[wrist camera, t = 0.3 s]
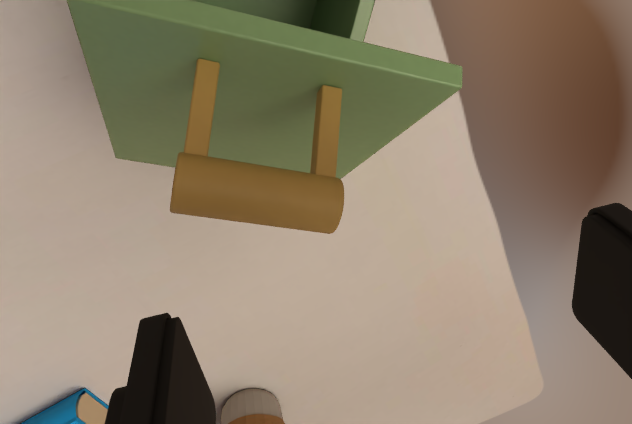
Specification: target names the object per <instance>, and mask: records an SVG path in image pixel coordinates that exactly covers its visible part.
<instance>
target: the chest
mask: <svg viewBox="0 0 632 424" xmlns="http://www.w3.org/2000/svg"><path fill="white" fill-rule="evenodd" d="M192 1H196V2H201V3H205V4H209V5H213V6H217V7H221V8H225V9H229V10H233V11H238V12H242V13H246V14H250V15H254V16H258V17H262V18H266V19H270V20H274V21H279V22H283V23H287V24H291V25H295V26H299V27H303V28H307V29H311V30H315V31H320V32H324V33H328V34H332V35H336V36H340V37H344V38H348V39H352V40H357V41H361V42H364V38H365V34H366V31H367V27H368V24H369V20H370V17H371V13H372V10H373V6H374V3H375V0H192Z"/></svg>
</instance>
